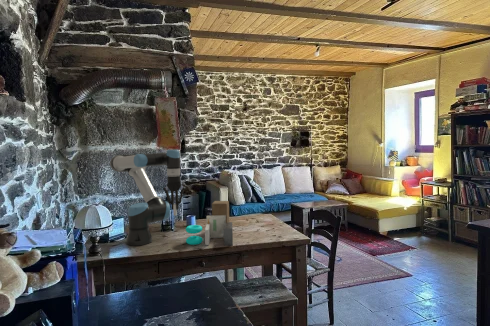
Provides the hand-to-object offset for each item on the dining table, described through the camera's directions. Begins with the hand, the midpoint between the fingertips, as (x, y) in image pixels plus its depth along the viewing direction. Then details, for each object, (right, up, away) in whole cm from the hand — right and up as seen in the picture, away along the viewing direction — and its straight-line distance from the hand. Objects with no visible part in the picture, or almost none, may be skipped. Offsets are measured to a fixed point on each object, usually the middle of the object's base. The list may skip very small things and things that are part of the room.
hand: (175, 214), depth 206 cm
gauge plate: (+19, -16, +3) cm, 25 cm away
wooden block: (+26, -15, +26) cm, 39 cm away
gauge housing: (+26, -17, +4) cm, 31 cm away
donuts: (+11, -17, +2) cm, 21 cm away
